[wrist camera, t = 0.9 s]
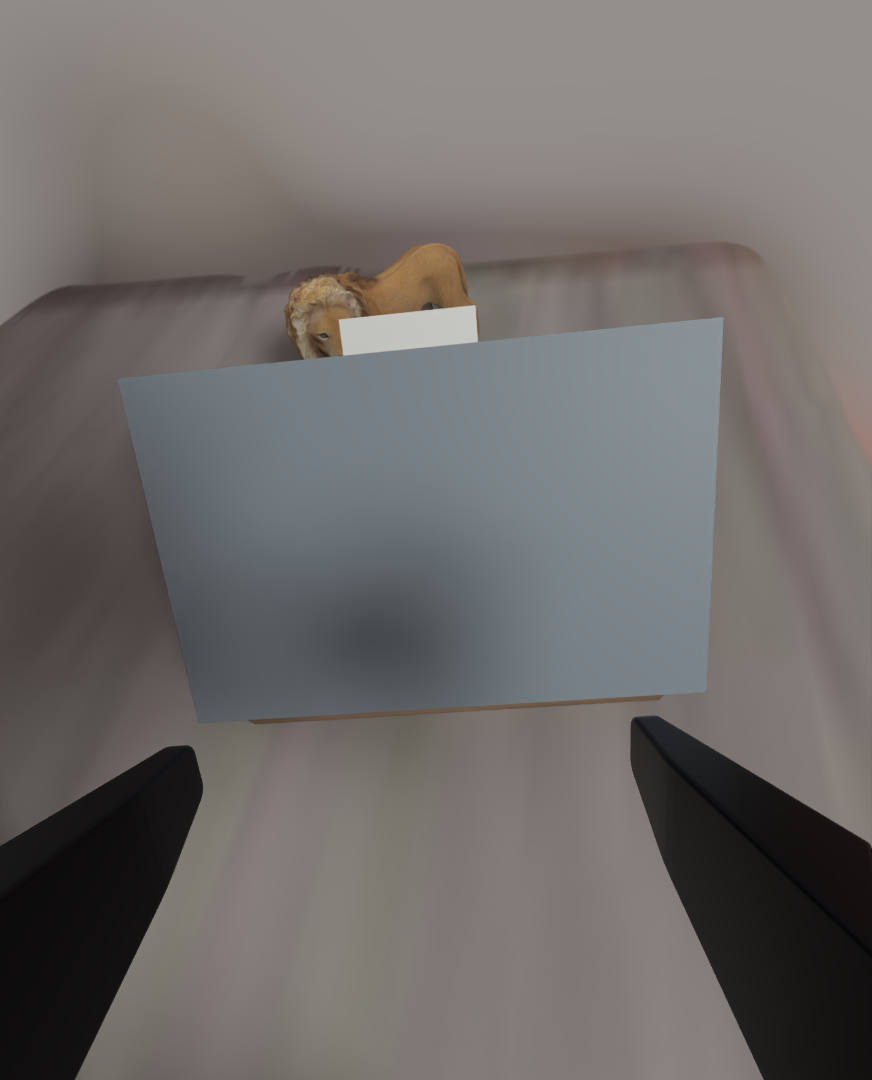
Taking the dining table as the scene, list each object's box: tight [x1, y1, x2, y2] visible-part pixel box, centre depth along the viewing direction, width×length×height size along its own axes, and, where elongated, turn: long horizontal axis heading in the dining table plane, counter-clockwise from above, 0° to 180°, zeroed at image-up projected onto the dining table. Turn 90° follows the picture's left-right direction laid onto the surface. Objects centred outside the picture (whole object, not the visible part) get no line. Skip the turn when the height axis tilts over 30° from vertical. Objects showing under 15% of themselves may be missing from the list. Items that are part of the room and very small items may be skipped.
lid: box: [117, 305, 723, 723], centre depth 17 cm, size 13×18×1 cm
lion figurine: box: [284, 243, 479, 360], centre depth 30 cm, size 15×5×9 cm, turn 143°
